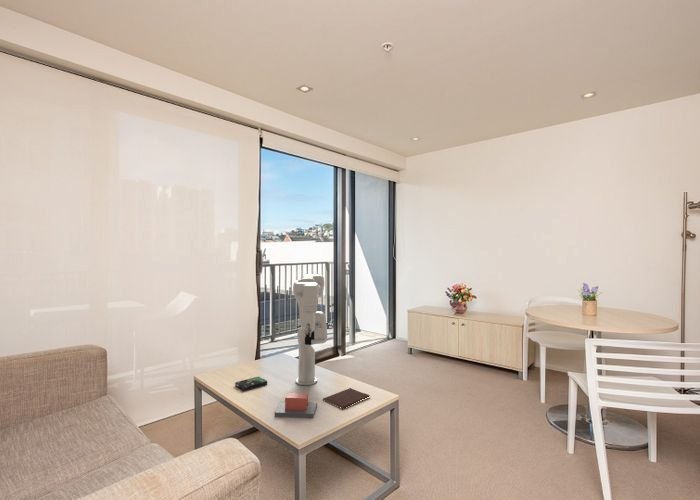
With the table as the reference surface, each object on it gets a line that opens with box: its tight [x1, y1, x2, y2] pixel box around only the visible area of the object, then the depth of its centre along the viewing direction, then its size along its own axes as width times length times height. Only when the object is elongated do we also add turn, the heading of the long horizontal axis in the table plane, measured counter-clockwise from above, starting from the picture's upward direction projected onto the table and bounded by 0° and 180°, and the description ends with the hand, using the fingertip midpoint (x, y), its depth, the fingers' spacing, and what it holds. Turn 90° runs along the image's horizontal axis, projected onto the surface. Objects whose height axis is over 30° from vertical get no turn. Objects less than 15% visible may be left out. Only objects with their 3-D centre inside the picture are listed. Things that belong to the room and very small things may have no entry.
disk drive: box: [234, 376, 268, 392], centre depth 199 cm, size 10×3×15 cm
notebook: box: [322, 387, 371, 409], centre depth 182 cm, size 15×20×2 cm
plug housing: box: [284, 392, 309, 410], centre depth 168 cm, size 5×10×6 cm, turn 87°
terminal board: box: [274, 400, 318, 419], centre depth 167 cm, size 12×18×6 cm, turn 87°
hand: (309, 342), depth 179 cm, fingers open, 9 cm apart
